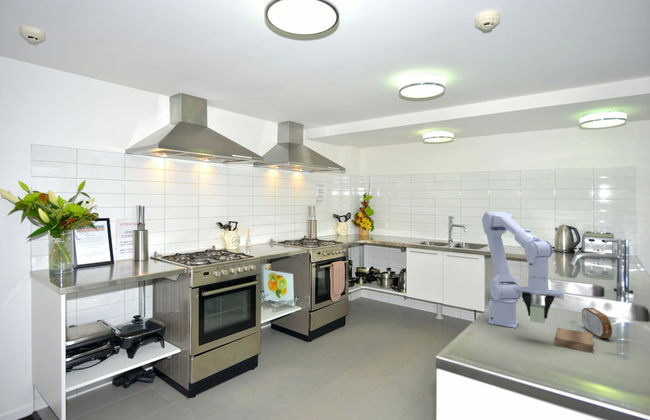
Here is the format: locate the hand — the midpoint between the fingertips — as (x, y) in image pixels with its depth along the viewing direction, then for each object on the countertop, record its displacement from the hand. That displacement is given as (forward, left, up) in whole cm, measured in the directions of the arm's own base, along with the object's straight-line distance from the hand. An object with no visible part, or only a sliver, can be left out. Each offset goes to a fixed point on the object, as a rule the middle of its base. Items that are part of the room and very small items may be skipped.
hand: (537, 316), depth 120 cm
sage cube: (0, 0, -2) cm, 2 cm away
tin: (+16, +20, -9) cm, 27 cm away
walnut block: (+10, +5, -9) cm, 14 cm away
